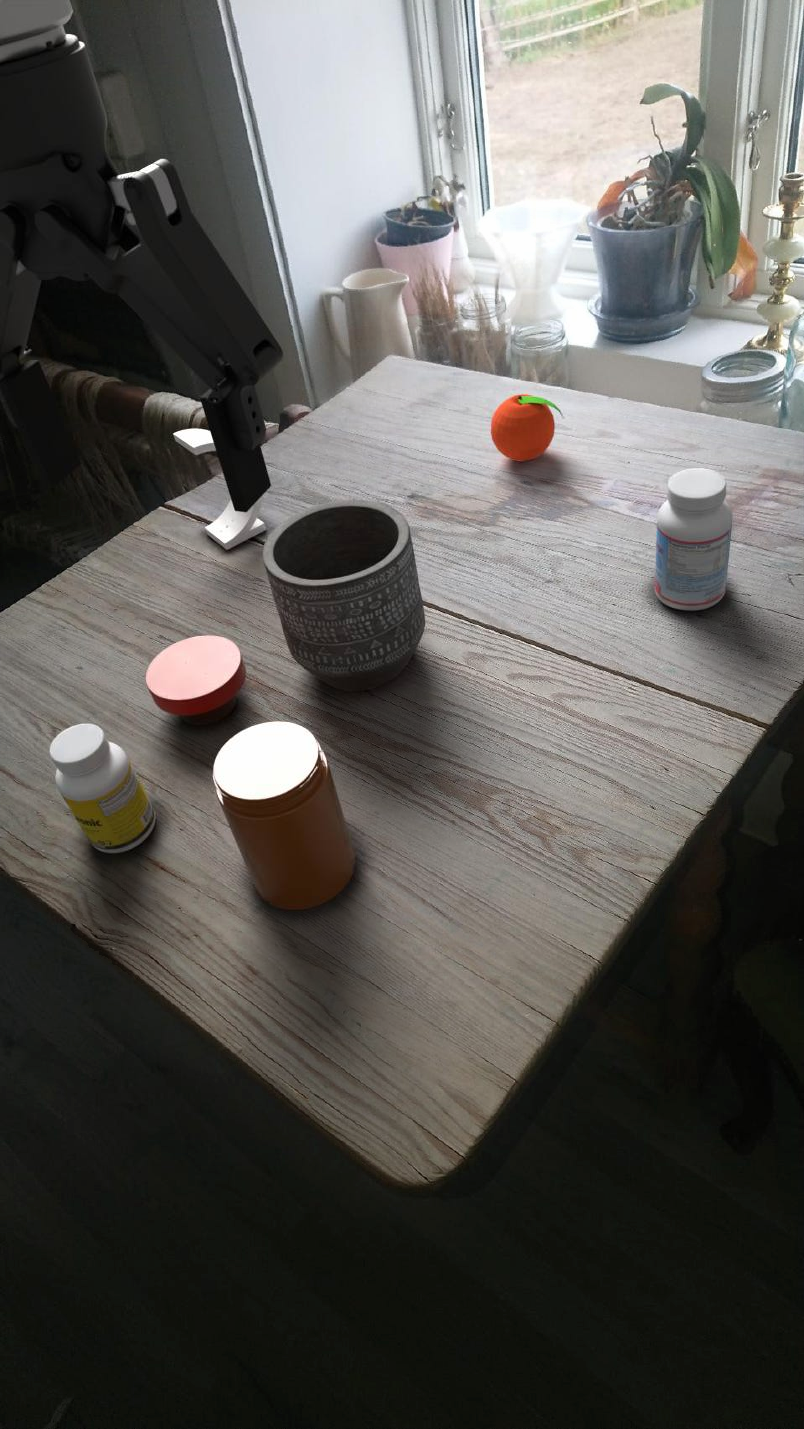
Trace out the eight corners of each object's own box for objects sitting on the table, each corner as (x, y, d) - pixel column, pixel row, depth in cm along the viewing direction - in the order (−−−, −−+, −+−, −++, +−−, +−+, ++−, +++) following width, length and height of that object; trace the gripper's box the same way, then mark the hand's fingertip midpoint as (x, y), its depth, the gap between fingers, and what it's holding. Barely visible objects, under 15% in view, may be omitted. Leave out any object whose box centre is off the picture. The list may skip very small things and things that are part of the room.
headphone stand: (206, 534, 106) (172, 433, 98) (253, 510, 108) (224, 410, 100) (226, 550, 103) (193, 447, 95) (274, 525, 105) (246, 423, 97)
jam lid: (258, 691, 82) (253, 676, 81) (164, 729, 80) (158, 714, 79) (230, 638, 88) (225, 623, 86) (142, 673, 86) (136, 657, 85)
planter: (351, 603, 93) (324, 486, 84) (457, 638, 87) (439, 516, 78) (268, 680, 87) (230, 562, 78) (376, 724, 81) (348, 601, 72)
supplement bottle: (77, 831, 77) (26, 745, 70) (135, 791, 79) (91, 704, 73) (111, 868, 74) (61, 781, 67) (170, 825, 76) (127, 737, 69)
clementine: (569, 439, 109) (567, 379, 104) (562, 472, 104) (559, 411, 100) (498, 441, 111) (493, 382, 106) (488, 473, 107) (482, 413, 102)
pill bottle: (665, 567, 90) (670, 458, 82) (732, 578, 87) (744, 467, 80) (645, 606, 86) (648, 497, 79) (715, 619, 84) (725, 507, 76)
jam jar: (233, 894, 70) (186, 788, 62) (285, 816, 75) (246, 708, 67) (325, 923, 67) (287, 815, 59) (372, 840, 72) (343, 730, 64)
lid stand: (167, 718, 85) (153, 684, 82) (199, 679, 88) (186, 645, 86) (216, 730, 83) (203, 696, 80) (247, 690, 86) (236, 655, 84)
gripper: (286, -2, 39) (375, 472, 53) (-141, 47, 49) (32, 436, 63) (182, 46, 34) (310, 550, 49) (-267, 90, 44) (-49, 498, 58)
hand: (153, 486), depth 56 cm, fingers open, 13 cm apart
